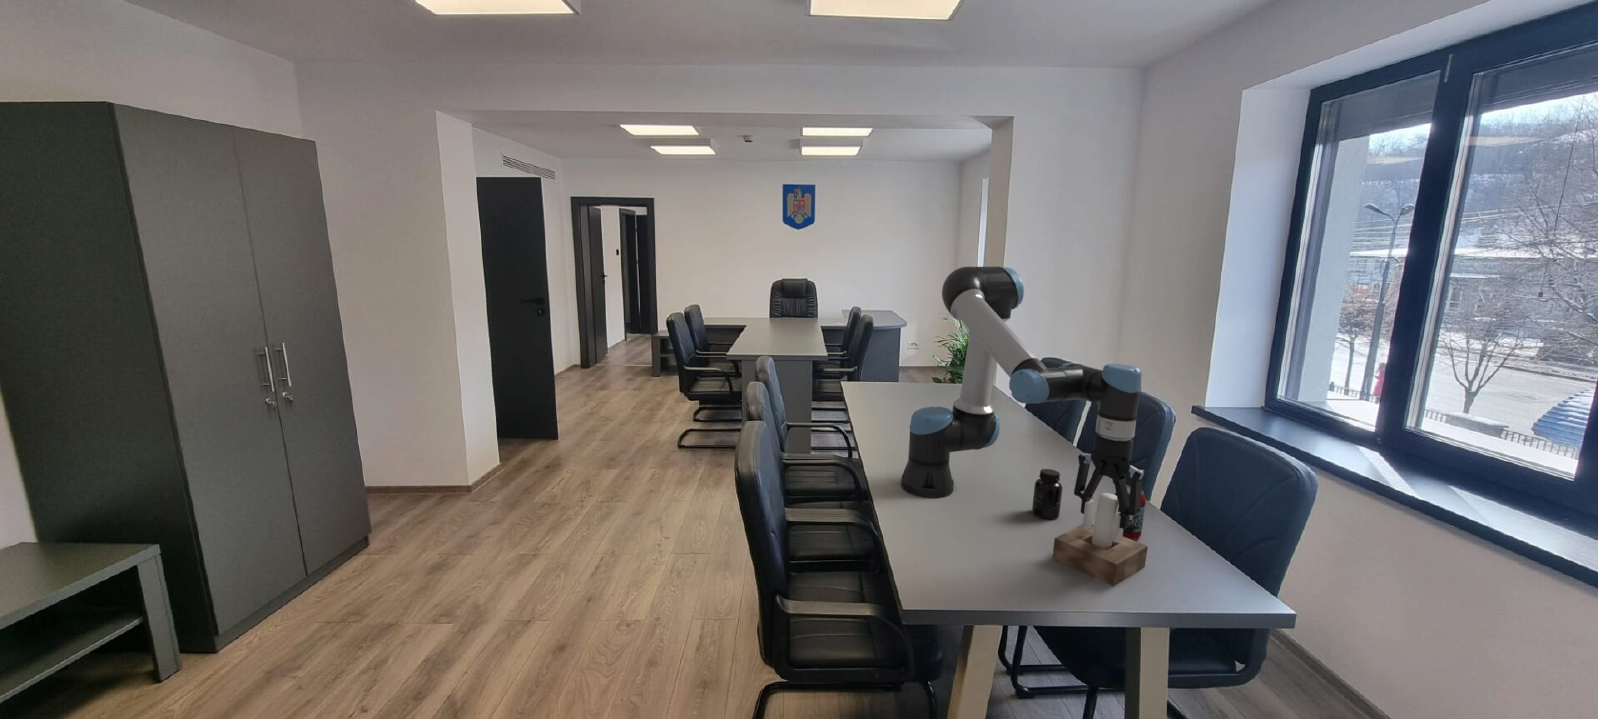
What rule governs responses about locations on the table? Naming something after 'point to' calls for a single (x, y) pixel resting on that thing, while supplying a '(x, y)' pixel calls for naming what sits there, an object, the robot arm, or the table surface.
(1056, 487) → the supplement bottle
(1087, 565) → the socket block
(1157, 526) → the table surface
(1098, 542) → the dowel
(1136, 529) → the beverage can
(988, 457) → the table surface
